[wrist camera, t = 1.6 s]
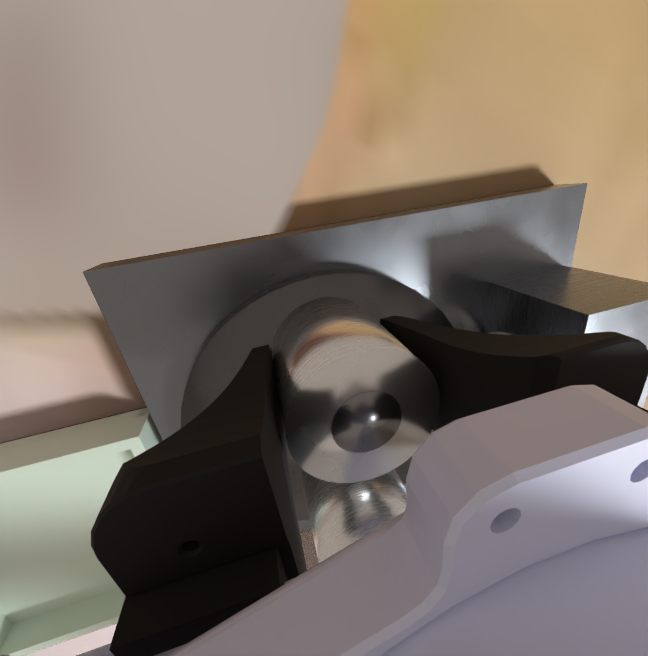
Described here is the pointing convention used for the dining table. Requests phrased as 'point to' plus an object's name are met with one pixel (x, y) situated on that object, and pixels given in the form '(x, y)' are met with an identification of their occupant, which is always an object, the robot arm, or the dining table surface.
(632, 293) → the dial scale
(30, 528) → the tray
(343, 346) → the cylinder
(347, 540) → the spacer
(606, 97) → the dining table surface
